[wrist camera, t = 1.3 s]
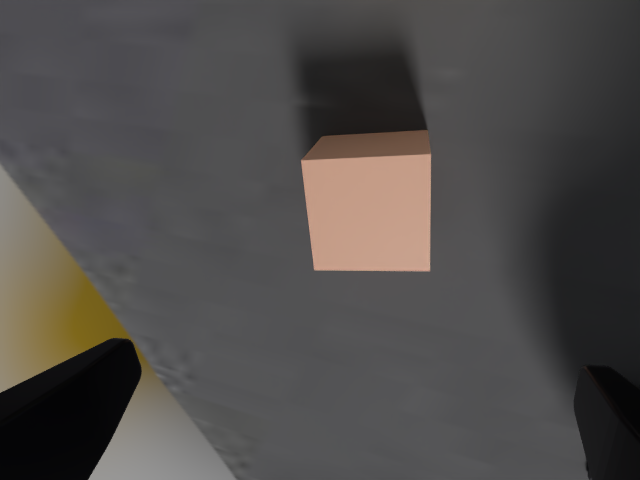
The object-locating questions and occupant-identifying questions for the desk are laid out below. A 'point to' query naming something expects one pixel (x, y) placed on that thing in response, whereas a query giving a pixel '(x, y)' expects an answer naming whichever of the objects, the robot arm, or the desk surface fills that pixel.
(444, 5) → the desk surface
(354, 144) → the cube
